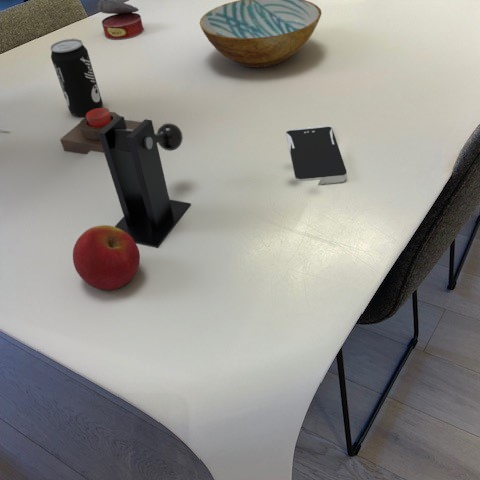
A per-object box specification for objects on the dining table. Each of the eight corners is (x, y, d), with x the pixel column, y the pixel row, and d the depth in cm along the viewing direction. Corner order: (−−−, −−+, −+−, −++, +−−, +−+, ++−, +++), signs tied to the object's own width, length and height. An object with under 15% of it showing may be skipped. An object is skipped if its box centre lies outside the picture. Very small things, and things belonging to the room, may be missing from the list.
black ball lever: (164, 148, 72) (165, 121, 70) (186, 151, 71) (187, 124, 69) (109, 154, 60) (109, 123, 59) (134, 158, 59) (134, 126, 58)
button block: (64, 150, 87) (56, 129, 84) (92, 126, 92) (86, 105, 89) (121, 160, 83) (115, 137, 80) (148, 134, 88) (142, 112, 85)
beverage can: (93, 119, 94) (72, 52, 85) (64, 117, 96) (40, 51, 87) (109, 103, 98) (91, 38, 89) (81, 101, 100) (60, 37, 91)
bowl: (186, 78, 103) (180, 36, 97) (227, 34, 119) (223, -5, 113) (304, 85, 96) (304, 40, 90) (330, 37, 112) (333, -4, 106)
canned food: (109, 54, 129) (86, 14, 124) (139, 38, 132) (118, -2, 127) (122, 41, 119) (98, -3, 115) (155, 24, 122) (133, -19, 118)
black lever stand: (144, 201, 74) (118, 104, 63) (192, 210, 72) (173, 110, 61) (109, 242, 68) (73, 142, 57) (159, 253, 66) (132, 151, 55)
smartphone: (295, 179, 73) (285, 129, 82) (295, 187, 74) (285, 137, 83) (347, 174, 72) (331, 125, 82) (347, 182, 73) (330, 132, 83)
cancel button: (84, 127, 84) (81, 117, 83) (97, 116, 87) (94, 106, 85) (103, 130, 83) (100, 119, 82) (116, 118, 85) (113, 108, 84)
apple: (102, 313, 59) (80, 263, 53) (75, 278, 64) (53, 229, 58) (156, 284, 62) (142, 234, 56) (127, 253, 66) (111, 203, 60)
